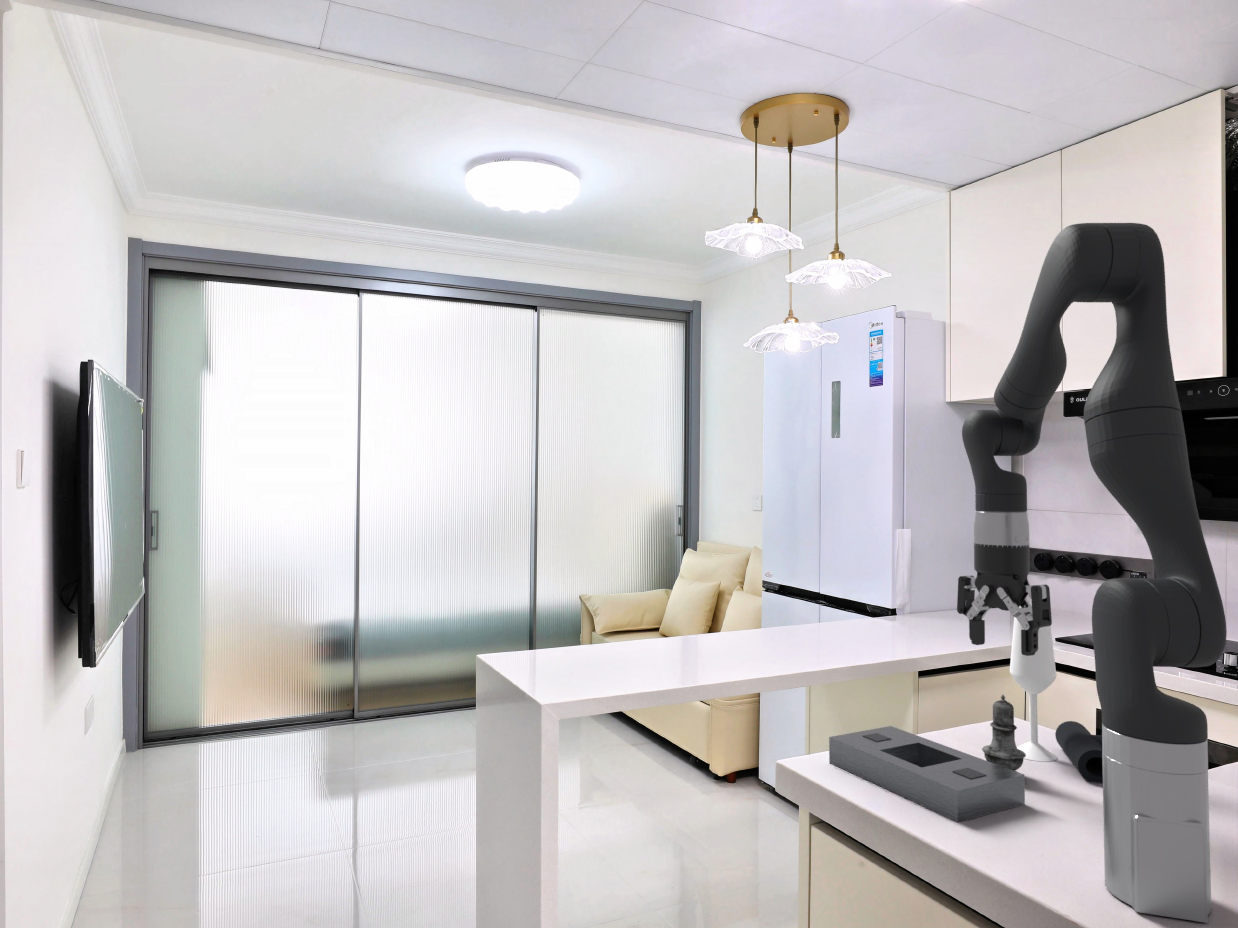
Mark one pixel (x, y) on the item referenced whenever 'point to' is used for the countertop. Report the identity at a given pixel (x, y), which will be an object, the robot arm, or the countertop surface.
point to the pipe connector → (1082, 749)
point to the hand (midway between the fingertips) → (1002, 649)
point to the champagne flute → (1033, 683)
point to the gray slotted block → (928, 772)
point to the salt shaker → (1003, 738)
